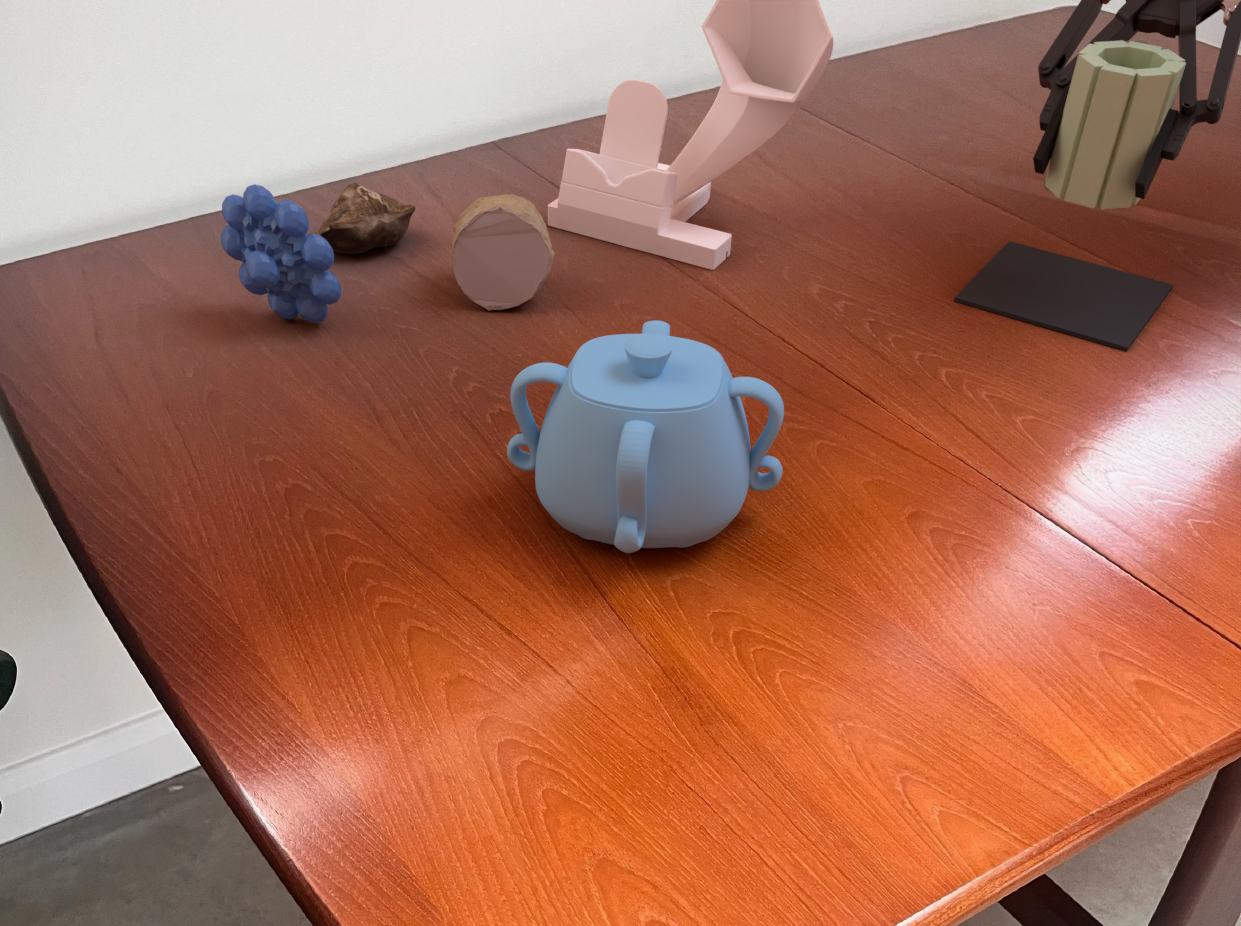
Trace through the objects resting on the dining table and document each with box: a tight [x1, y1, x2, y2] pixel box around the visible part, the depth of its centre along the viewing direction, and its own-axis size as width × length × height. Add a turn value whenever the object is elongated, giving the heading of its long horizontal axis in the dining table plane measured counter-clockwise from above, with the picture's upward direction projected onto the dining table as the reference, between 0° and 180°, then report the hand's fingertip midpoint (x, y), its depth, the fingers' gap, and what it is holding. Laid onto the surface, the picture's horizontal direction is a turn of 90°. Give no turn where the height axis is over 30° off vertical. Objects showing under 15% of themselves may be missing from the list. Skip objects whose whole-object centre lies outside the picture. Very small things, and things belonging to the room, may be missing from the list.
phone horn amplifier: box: [547, 0, 834, 271], centre depth 121 cm, size 25×16×25 cm, turn 59°
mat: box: [953, 240, 1174, 352], centre depth 119 cm, size 16×14×1 cm
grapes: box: [220, 184, 342, 324], centre depth 110 cm, size 12×7×12 cm, turn 66°
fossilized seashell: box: [315, 182, 416, 255], centre depth 124 cm, size 8×7×10 cm
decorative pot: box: [506, 319, 785, 554], centre depth 90 cm, size 16×16×14 cm
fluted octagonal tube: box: [1044, 40, 1186, 210], centre depth 108 cm, size 8×8×11 cm
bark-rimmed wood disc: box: [451, 193, 555, 312], centre depth 115 cm, size 10×10×10 cm
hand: (1088, 178), depth 109 cm, fingers closed on fluted octagonal tube, 8 cm apart
